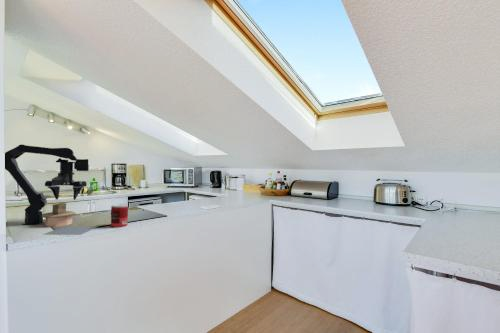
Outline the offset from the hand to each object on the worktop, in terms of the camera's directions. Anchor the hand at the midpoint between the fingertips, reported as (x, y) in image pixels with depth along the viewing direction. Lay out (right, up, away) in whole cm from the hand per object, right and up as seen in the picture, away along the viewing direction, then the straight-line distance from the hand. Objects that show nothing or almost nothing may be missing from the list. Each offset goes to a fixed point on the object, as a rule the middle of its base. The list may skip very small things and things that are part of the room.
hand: (65, 199), depth 140 cm
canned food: (+33, -13, -8) cm, 37 cm away
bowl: (+2, -12, -8) cm, 15 cm away
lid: (+2, -7, -8) cm, 11 cm away
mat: (+17, -12, -19) cm, 28 cm away
